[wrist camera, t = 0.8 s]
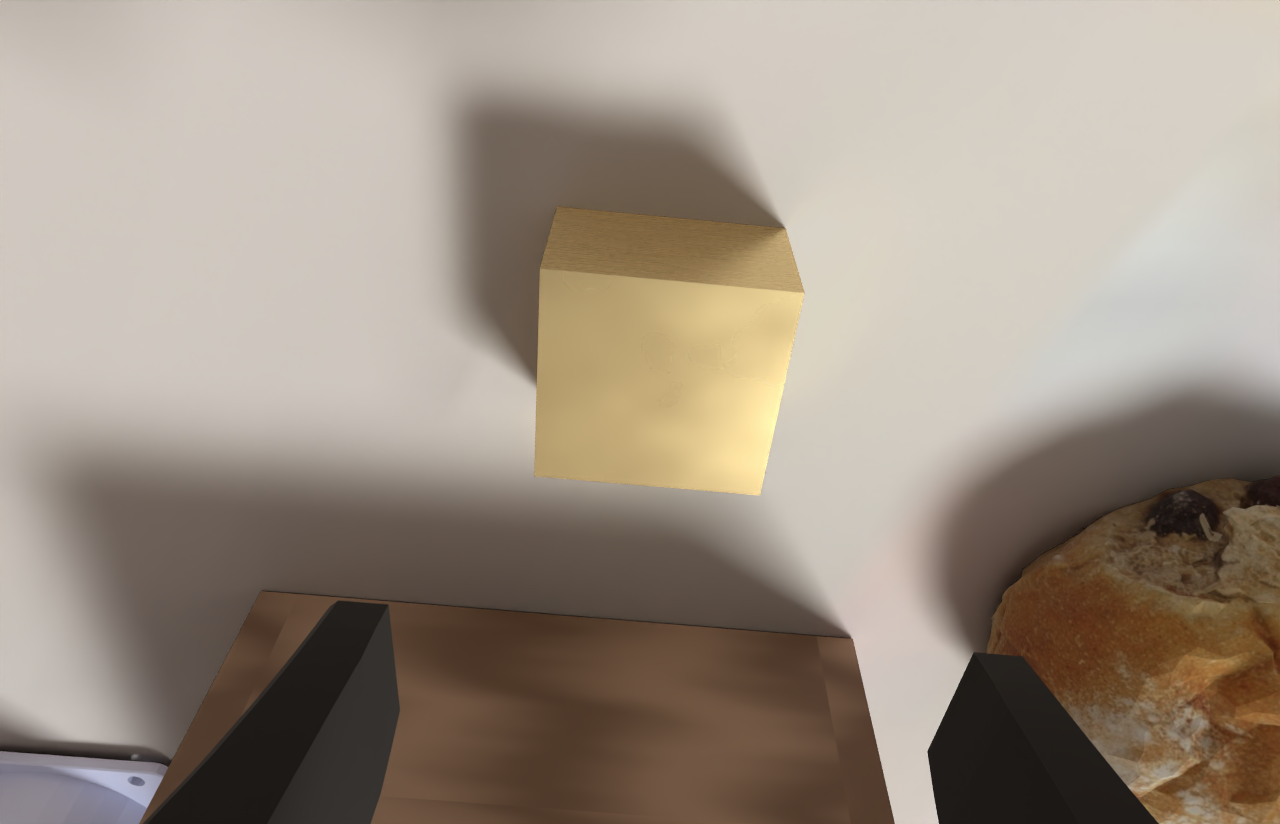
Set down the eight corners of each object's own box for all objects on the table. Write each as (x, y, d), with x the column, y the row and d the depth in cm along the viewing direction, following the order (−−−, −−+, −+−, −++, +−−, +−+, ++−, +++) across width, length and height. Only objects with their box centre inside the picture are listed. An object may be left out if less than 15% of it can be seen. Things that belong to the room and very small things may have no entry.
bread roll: (908, 543, 27) (902, 826, 22) (1191, 387, 18) (1265, 798, 14) (1171, 628, 28) (1211, 904, 24) (1543, 523, 20) (1701, 921, 16)
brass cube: (551, 392, 20) (534, 476, 17) (558, 202, 17) (540, 268, 15) (747, 410, 20) (759, 495, 17) (784, 224, 17) (804, 293, 15)
